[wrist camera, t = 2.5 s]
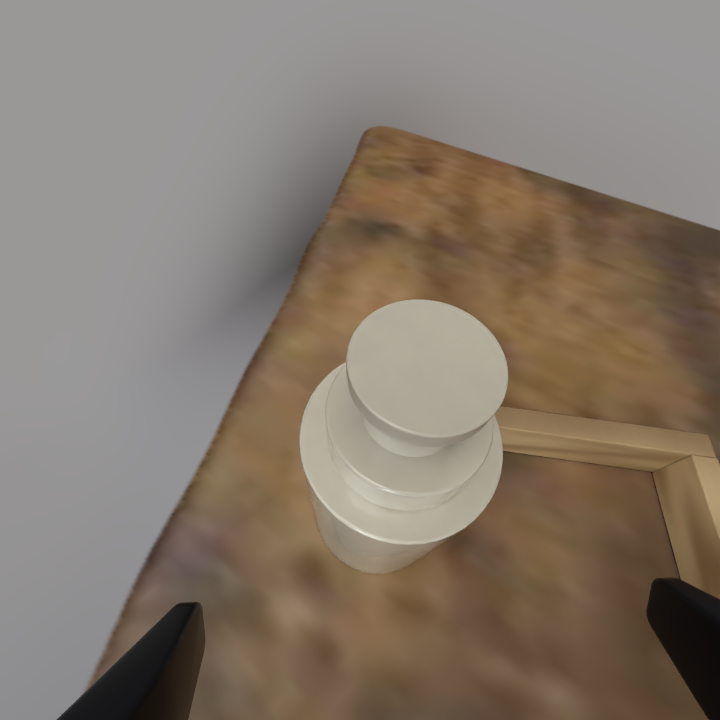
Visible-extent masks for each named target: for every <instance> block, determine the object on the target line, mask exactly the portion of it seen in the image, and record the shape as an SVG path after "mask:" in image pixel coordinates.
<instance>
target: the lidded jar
mask: <svg viewBox="0 0 720 720" xmlns="http://www.w3.org/2000/svg"><path fill="white" fill-rule="evenodd" d="M507 386H508V368H507V362H506V359H505V356H504V353H503V351H502V349H501V346H500V345H499V343H498V341H497V340H496V338H495V337H494V336H493V334H492V333H491V332H490V331H489V330H488V329H487V328H486V327H485V326H484V325H483V324H482V323H481V322H480V321H479V320H477V319H476V318H475V317H473V316H472V315H470V314H469V313H467V312H465V311H463V310H461V309H459V308H457V307H454V306H452V305H449V304H446V303H442V302H438V301H432V300H423V299H413V300H404V301H399V302H394V303H391V304H389V305H386V306H384V307H382V308H380V309H378V310H376V311H374V312H373V313H371V314H370V315H369V316H368V317H367V318H365V319H364V320H363V321H362V322H361V324H360V325H359V326H358V327H357V329H356V330H355V332H354V333H353V335H352V337H351V340H350V342H349V346H348V349H347V358H346V362H345V363H343V364H341V365H340V366H339V367H337V368H336V369H334V370H333V371H332V372H331V373H330V374H329V375H327V376H326V377H325V378H324V379H323V380H322V382H321V383H320V384H319V385H318V386H317V388H316V389H315V391H314V392H313V394H312V395H311V397H310V399H309V401H308V403H307V405H306V408H305V410H304V414H303V417H302V421H301V427H300V440H299V446H300V454H301V460H302V464H303V469H304V473H305V477H306V481H307V485H308V489H309V493H310V497H311V502H312V506H313V510H314V514H315V518H316V522H317V526H318V529H319V532H320V534H321V537H322V538H323V540H324V542H325V544H326V545H327V546H328V548H329V549H330V550H331V552H332V553H333V554H334V555H335V556H336V557H337V558H339V559H340V560H341V561H342V562H344V563H345V564H347V565H349V566H351V567H352V568H355V569H357V570H360V571H363V572H368V573H377V574H380V573H390V572H394V571H397V570H400V569H403V568H405V567H407V566H408V565H410V564H412V563H413V562H415V561H416V560H418V559H419V558H421V557H422V556H424V555H425V554H427V553H428V552H430V551H431V550H433V549H434V548H436V547H437V546H439V545H440V544H442V543H443V542H445V541H446V540H448V539H449V538H451V537H452V536H454V535H455V534H457V533H458V532H460V531H461V530H463V529H464V528H465V527H467V526H468V525H469V524H470V523H472V522H473V521H474V520H475V519H476V518H477V517H478V516H479V515H480V514H481V513H482V512H483V511H484V509H485V508H486V507H487V505H488V504H489V502H490V501H491V499H492V497H493V495H494V493H495V491H496V489H497V486H498V483H499V479H500V476H501V471H502V464H503V445H502V438H501V433H500V429H499V426H498V422H497V420H496V417H495V415H494V414H495V413H496V412H497V410H498V409H499V408H500V406H501V404H502V402H503V400H504V398H505V395H506V392H507Z"/></svg>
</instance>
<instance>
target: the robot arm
mask: <svg viewBox="0 0 720 720" xmlns="http://www.w3.org/2000/svg"><path fill="white" fill-rule="evenodd" d="M647 618H648V621H649V623H650V626H651V627H652V629H653V631H654V632H655V634H656V636H657V637H658V639H659V640H660V642H661V644H662V645H663V647H664V649H665V650H666V652H667V653H668V655H669V657H670V658H671V660H672V662H673V663H674V665H675V666H676V668H677V670H678V671H679V673H680V675H681V676H682V678H683V679H684V681H685V683H686V684H687V686H688V688H689V689H690V691H691V692H692V694H693V696H694V697H695V699H696V701H697V702H698V704H699V705H700V707H701V708H702V710H703V711H704V713H705V715H706V716H707V717H708V719H709V720H720V599H718V598H716V597H714V596H712V595H710V594H708V593H706V592H704V591H702V590H700V589H698V588H696V587H694V586H692V585H690V584H688V583H686V582H684V581H682V580H680V579H678V578H673V577H669V578H657V579H655V580H654V581H653V582H652V585H651V590H650V595H649V600H648V605H647ZM204 648H205V630H204V620H203V611H202V606H201V604H200V603H198V602H188V603H179V604H177V605H176V606H174V607H173V608H172V609H171V610H170V611H169V612H168V613H167V614H166V615H165V616H164V617H163V618H162V619H161V620H160V621H159V622H158V623H157V624H156V625H155V626H154V627H153V628H151V629H150V630H149V631H148V632H147V633H146V634H145V635H144V636H143V637H142V638H141V639H140V640H139V641H138V642H137V643H136V644H135V645H134V646H133V647H132V648H131V649H130V650H129V651H128V652H127V653H126V654H124V655H123V656H122V657H121V658H120V659H119V660H118V661H117V662H116V663H115V664H114V665H113V666H112V667H111V668H110V669H109V670H108V671H107V672H106V673H105V674H104V675H103V676H102V677H101V678H100V679H98V680H97V681H96V682H95V683H94V684H93V685H92V686H91V687H90V688H89V689H88V690H87V691H86V692H85V693H84V694H83V695H82V696H81V697H80V698H79V699H78V700H77V701H76V702H75V703H74V704H73V705H71V707H69V708H68V710H66V711H65V712H64V713H63V714H62V715H61V716H60V717H59V718H58V719H57V720H188V718H189V713H190V709H191V705H192V701H193V696H194V692H195V688H196V683H197V679H198V675H199V671H200V666H201V662H202V658H203V653H204Z"/></svg>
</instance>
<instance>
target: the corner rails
mask: <svg viewBox="0 0 720 720" xmlns="http://www.w3.org/2000/svg"><path fill="white" fill-rule="evenodd" d="M494 415H495V417H496V420H497V422H498V426H499V429H500V433H501V438H502V445H503V451H509V452H516V453H523V454H530V455H537V456H544V457H551V458H558V459H565V460H572V461H579V462H586V463H593V464H601V465H608V466H615V467H622V468H629V469H636V470H643V471H650V472H652V474H653V478H654V482H655V486H656V489H657V493H658V497H659V500H660V504H661V508H662V511H663V515H664V519H665V523H666V526H667V530H668V534H669V537H670V541H671V545H672V548H673V552H674V556H675V559H676V563H677V567H678V571H679V574H680V578H681V580H682V581H684V582H686V583H688V584H690V585H692V586H694V587H696V588H698V589H700V590H702V591H704V592H706V593H708V594H710V595H712V596H714V597H716V598H718V599H720V464H719V461H718V459H717V458H716V454H715V452H714V449H713V446H712V444H711V441H710V438H709V436H708V435H707V434H700V433H693V432H686V431H679V430H671V429H664V428H657V427H650V426H642V425H635V424H628V423H621V422H613V421H606V420H599V419H592V418H584V417H577V416H570V415H563V414H555V413H548V412H541V411H534V410H526V409H519V408H512V407H505V406H500V408H499V409H498V410H497V412H496V413H495V414H494Z"/></svg>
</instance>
